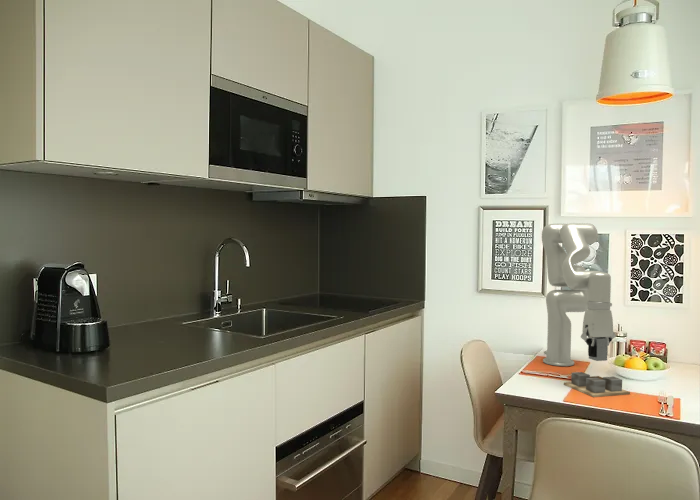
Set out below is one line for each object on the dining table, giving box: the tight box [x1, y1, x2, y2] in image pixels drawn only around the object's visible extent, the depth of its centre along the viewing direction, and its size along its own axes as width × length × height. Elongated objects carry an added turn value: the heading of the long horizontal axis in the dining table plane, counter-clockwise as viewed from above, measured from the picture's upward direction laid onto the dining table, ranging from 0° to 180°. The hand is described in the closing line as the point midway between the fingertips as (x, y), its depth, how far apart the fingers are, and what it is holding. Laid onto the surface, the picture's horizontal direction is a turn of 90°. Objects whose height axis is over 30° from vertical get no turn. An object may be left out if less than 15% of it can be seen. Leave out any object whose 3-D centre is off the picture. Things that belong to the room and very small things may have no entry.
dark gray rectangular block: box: [588, 338, 608, 362], centre depth 207 cm, size 4×4×8 cm
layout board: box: [563, 371, 631, 398], centre depth 203 cm, size 16×15×5 cm
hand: (597, 355), depth 207 cm, fingers closed on dark gray rectangular block, 4 cm apart
